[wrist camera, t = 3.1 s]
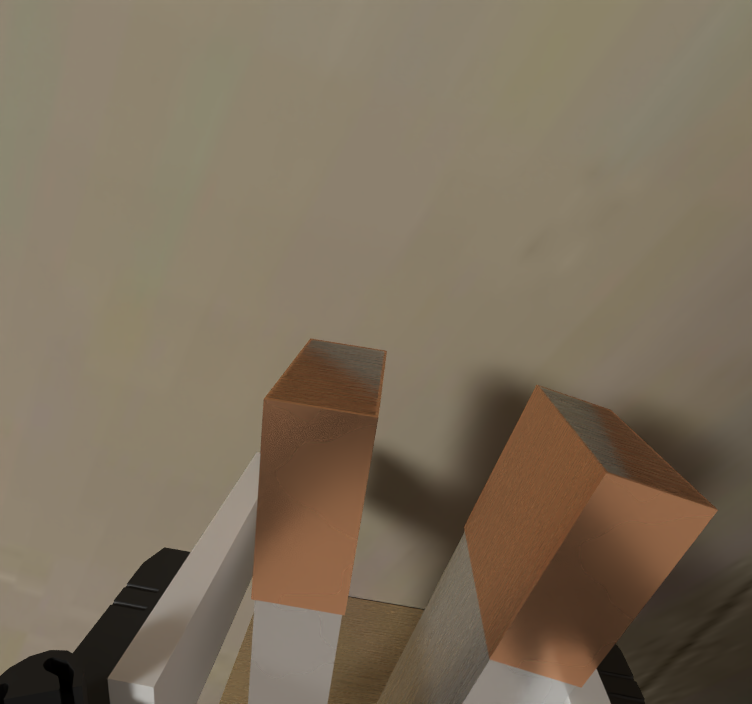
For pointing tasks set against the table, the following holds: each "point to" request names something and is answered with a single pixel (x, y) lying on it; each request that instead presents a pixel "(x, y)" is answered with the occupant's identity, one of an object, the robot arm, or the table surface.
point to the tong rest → (317, 540)
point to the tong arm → (550, 561)
